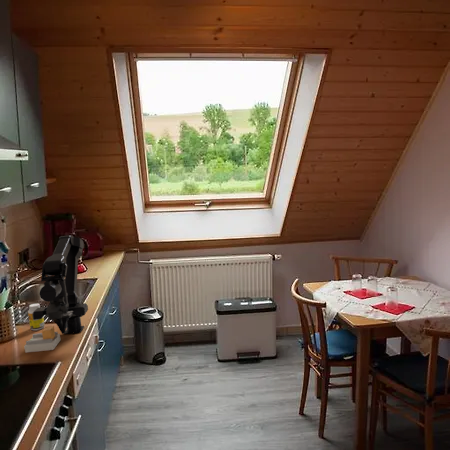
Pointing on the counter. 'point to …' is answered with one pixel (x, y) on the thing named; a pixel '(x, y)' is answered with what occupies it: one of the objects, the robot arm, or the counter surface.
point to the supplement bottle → (36, 323)
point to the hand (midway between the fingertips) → (63, 333)
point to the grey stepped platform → (41, 343)
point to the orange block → (48, 333)
